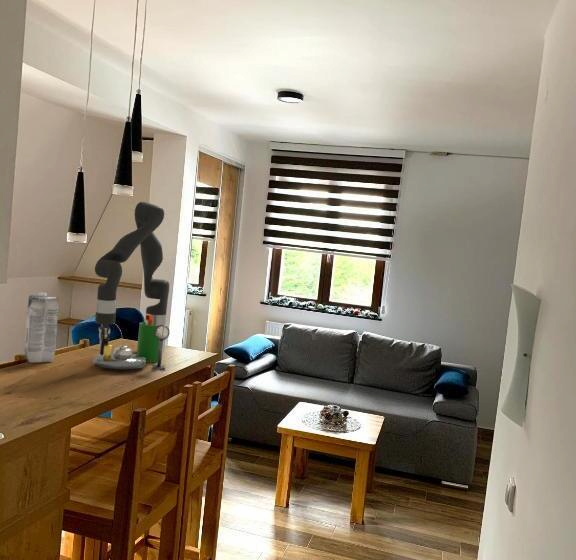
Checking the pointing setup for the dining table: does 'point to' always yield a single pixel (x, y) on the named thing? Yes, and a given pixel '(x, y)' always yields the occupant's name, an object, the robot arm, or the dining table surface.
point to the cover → (122, 352)
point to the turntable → (118, 360)
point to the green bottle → (148, 340)
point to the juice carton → (41, 328)
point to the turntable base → (118, 369)
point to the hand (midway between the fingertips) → (102, 354)
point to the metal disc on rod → (160, 344)
